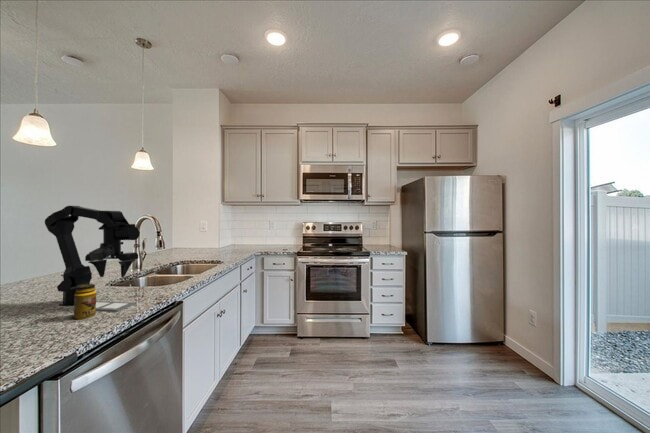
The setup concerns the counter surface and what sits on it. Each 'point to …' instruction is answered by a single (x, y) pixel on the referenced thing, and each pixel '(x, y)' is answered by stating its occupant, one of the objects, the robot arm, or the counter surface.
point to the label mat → (112, 306)
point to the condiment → (84, 303)
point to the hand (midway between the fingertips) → (112, 277)
